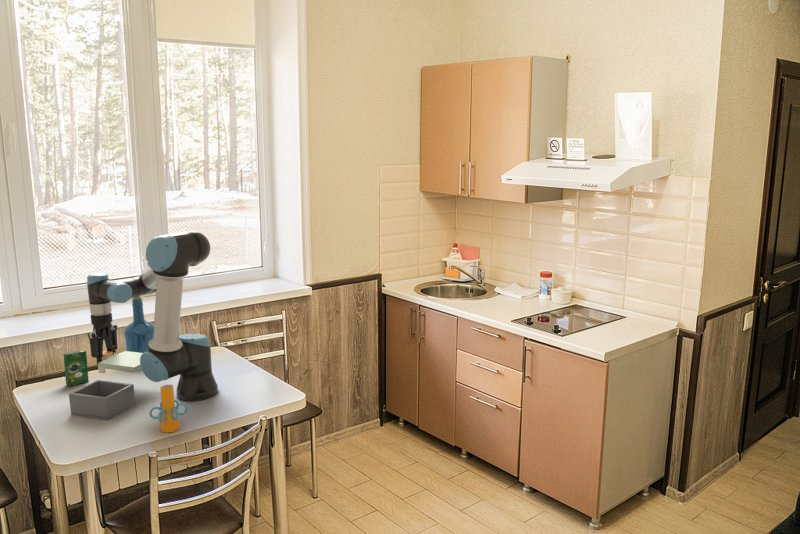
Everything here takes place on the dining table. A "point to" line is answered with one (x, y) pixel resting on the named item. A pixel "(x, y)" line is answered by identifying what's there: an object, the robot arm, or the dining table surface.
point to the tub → (102, 399)
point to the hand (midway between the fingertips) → (106, 370)
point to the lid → (121, 361)
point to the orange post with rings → (168, 410)
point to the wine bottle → (138, 329)
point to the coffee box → (76, 367)
